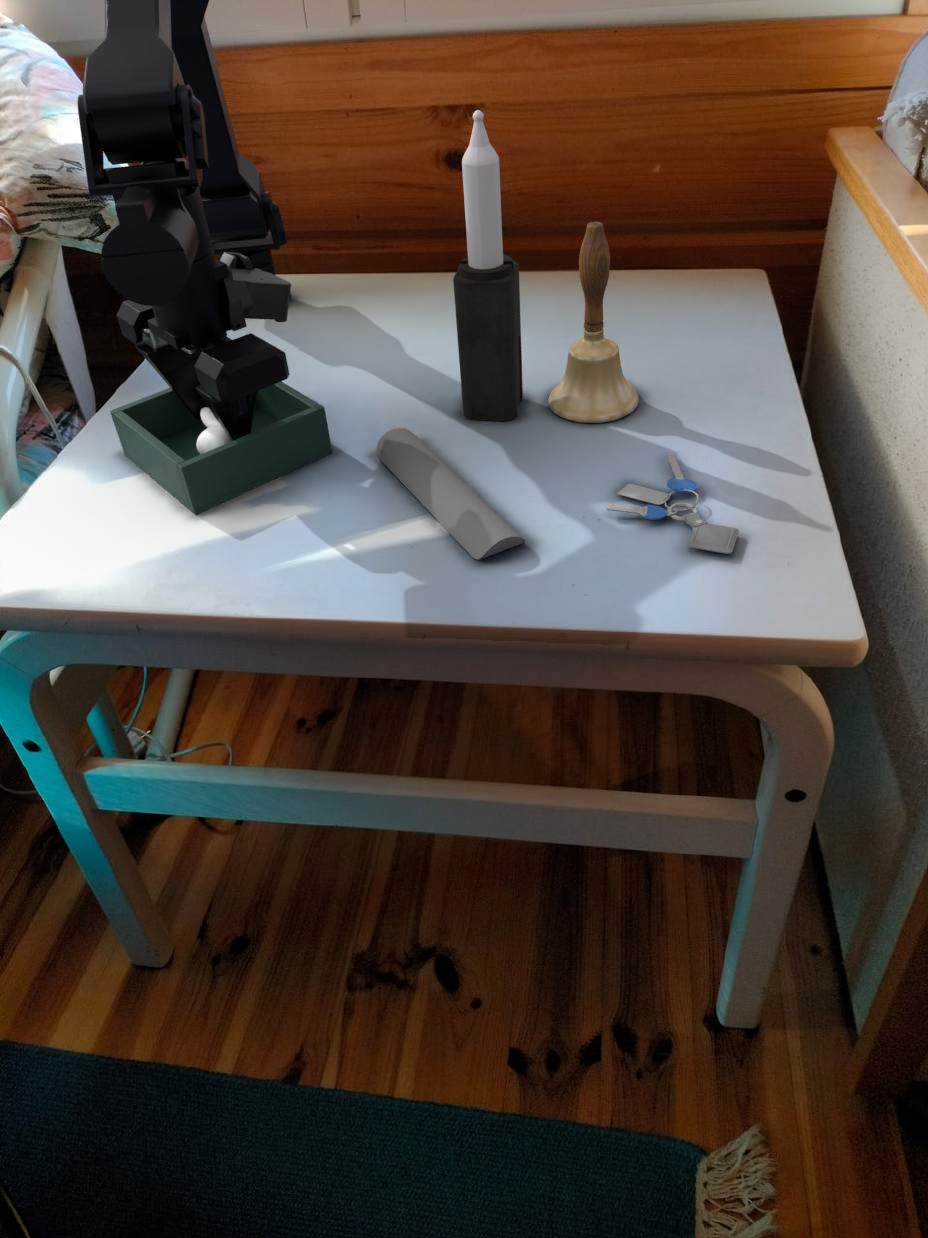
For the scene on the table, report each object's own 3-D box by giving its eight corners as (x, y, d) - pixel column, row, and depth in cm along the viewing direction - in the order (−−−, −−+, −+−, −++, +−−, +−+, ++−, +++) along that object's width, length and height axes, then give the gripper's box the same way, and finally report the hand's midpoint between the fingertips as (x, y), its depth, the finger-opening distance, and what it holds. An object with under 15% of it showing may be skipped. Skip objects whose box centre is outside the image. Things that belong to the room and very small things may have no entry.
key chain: (753, 552, 70) (754, 543, 69) (647, 576, 69) (648, 566, 68) (672, 458, 80) (673, 449, 80) (579, 477, 79) (579, 468, 78)
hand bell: (533, 414, 88) (529, 236, 77) (569, 374, 93) (570, 203, 83) (619, 430, 84) (627, 247, 74) (651, 389, 90) (663, 212, 80)
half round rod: (481, 567, 71) (479, 548, 70) (373, 453, 84) (370, 435, 83) (530, 548, 72) (530, 529, 71) (416, 439, 86) (414, 421, 84)
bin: (124, 455, 87) (109, 410, 84) (254, 402, 93) (244, 358, 90) (195, 515, 79) (181, 467, 76) (332, 452, 85) (324, 406, 82)
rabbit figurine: (177, 475, 83) (188, 397, 86) (215, 493, 85) (224, 417, 88) (219, 452, 79) (229, 371, 82) (257, 471, 82) (265, 392, 85)
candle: (516, 421, 87) (505, 118, 71) (461, 419, 88) (437, 119, 72) (524, 394, 91) (516, 100, 74) (471, 393, 92) (452, 102, 75)
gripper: (329, 252, 72) (357, 435, 83) (210, 202, 84) (248, 367, 94) (197, 298, 67) (245, 486, 78) (89, 237, 79) (143, 408, 89)
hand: (222, 431), depth 85 cm, fingers closed on rabbit figurine, 7 cm apart
